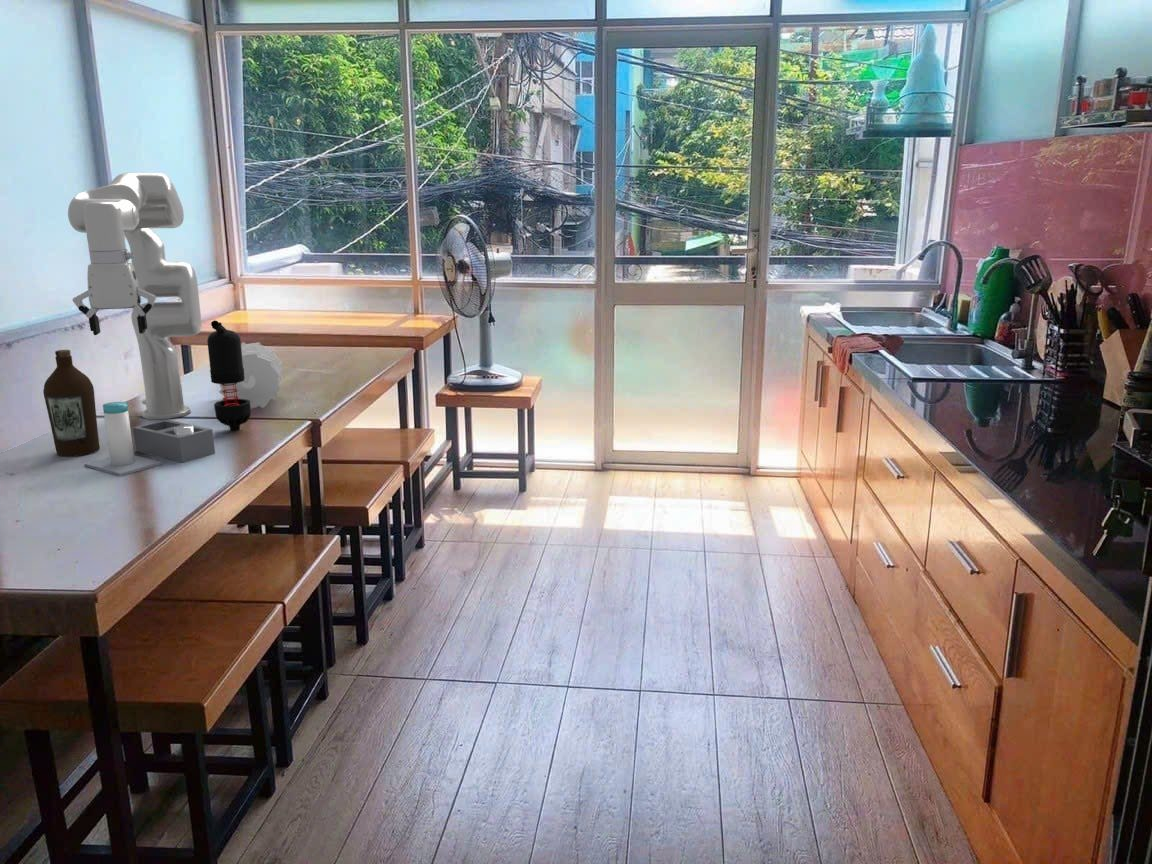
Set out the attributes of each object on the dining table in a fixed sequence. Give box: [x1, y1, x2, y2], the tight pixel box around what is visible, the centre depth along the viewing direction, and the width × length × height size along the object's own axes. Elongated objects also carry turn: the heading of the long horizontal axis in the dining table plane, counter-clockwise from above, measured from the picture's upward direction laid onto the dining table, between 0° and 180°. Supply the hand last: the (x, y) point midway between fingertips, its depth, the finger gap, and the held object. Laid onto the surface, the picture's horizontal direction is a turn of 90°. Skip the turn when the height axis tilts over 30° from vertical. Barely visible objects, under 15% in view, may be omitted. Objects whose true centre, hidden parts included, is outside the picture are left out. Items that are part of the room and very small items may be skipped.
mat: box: [84, 454, 162, 477], centre depth 209 cm, size 14×10×1 cm
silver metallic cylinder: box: [174, 424, 195, 436], centre depth 216 cm, size 4×4×5 cm
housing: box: [132, 419, 216, 463], centre depth 218 cm, size 18×9×6 cm, turn 59°
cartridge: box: [102, 401, 135, 466], centre depth 207 cm, size 5×5×14 cm
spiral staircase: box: [218, 341, 283, 410], centre depth 265 cm, size 18×18×25 cm
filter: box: [206, 320, 252, 432], centre depth 236 cm, size 14×9×30 cm
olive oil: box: [42, 349, 101, 458], centre depth 216 cm, size 11×11×25 cm
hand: (119, 333), depth 207 cm, fingers open, 9 cm apart
